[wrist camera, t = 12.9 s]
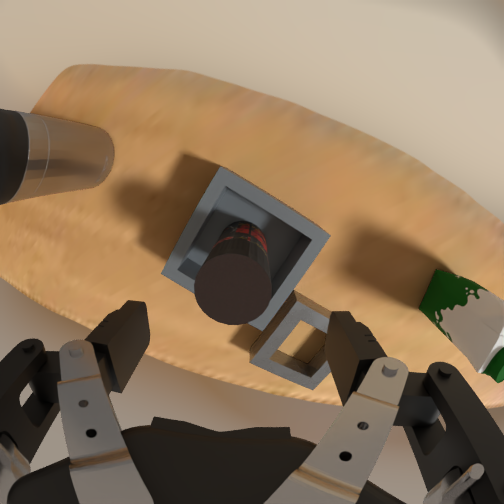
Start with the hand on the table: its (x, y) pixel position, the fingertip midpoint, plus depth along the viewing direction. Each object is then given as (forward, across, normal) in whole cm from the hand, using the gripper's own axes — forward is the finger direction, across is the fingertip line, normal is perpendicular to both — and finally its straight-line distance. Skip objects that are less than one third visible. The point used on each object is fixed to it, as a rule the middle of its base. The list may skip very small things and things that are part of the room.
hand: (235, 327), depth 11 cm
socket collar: (+25, -9, +17) cm, 31 cm away
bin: (+25, 0, +2) cm, 25 cm away
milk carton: (+25, -32, +9) cm, 42 cm away
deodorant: (+24, +1, +2) cm, 24 cm away
